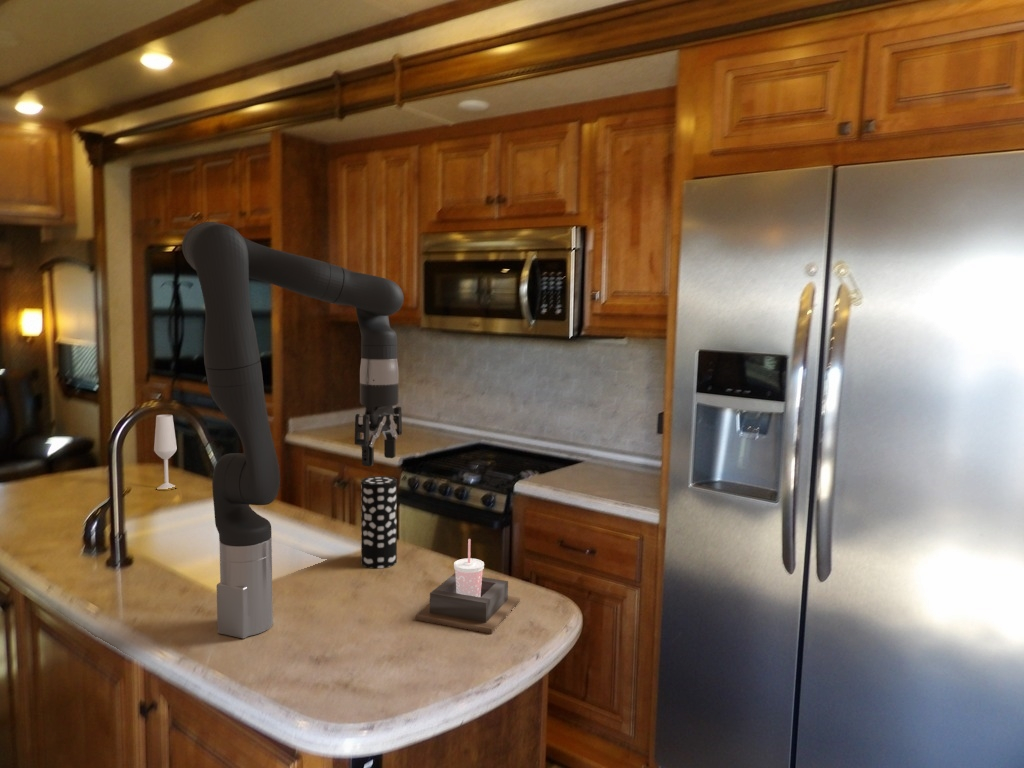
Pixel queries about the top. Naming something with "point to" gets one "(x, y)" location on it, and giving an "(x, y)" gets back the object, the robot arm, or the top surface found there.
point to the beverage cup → (469, 575)
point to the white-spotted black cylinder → (378, 522)
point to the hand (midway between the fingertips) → (379, 461)
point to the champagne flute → (165, 443)
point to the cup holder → (469, 606)
